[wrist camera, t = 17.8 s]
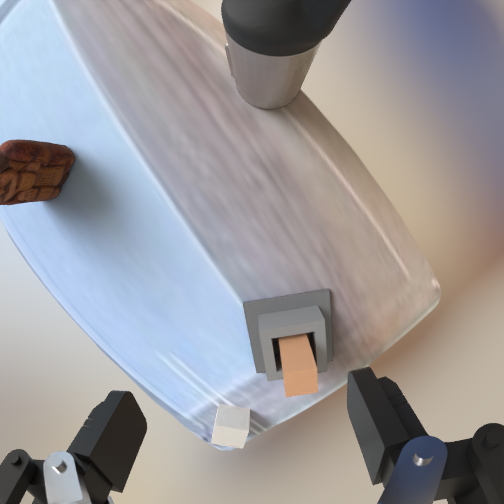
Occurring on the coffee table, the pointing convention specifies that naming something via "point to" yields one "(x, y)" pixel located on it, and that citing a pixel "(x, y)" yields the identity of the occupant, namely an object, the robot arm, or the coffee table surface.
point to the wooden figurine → (32, 170)
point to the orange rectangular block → (298, 365)
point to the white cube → (231, 426)
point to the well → (289, 328)
